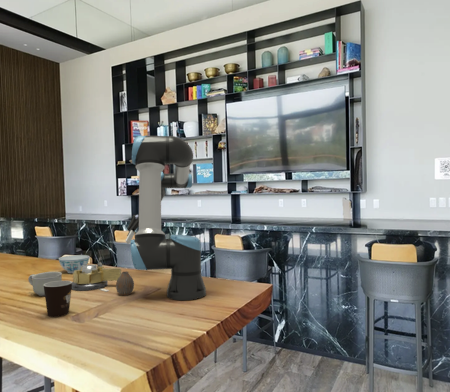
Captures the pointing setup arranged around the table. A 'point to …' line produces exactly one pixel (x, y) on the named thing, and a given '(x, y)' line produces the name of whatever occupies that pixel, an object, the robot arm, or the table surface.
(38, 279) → the teacup
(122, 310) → the table surface
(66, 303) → the coffee mug
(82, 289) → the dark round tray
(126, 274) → the vase
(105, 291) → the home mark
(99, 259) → the pocket watch
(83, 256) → the chinaware
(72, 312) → the table surface
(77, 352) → the table surface
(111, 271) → the tan piece
